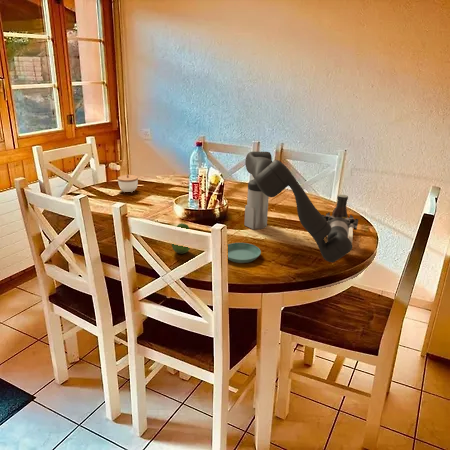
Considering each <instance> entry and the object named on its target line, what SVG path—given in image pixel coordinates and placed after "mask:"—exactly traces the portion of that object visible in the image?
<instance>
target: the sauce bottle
mask: <svg viewBox="0 0 450 450" xmlns="http://www.w3.org/2000/svg"><path fill="white" fill-rule="evenodd" d="M336 197H337V198H336V199H337V200H336V201H337V203H336V206H335V208H333V210H332V214H331V216H333V217H342V218H344V219H345V218H349V216H348V210H347V202H348V200H349V196H348V195H346V194H338V195H337V196H336Z"/></svg>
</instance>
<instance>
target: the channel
mask: <svg viewBox="0 0 450 450" xmlns="http://www.w3.org/2000/svg"><path fill="white" fill-rule="evenodd" d="M353 231H354V228H353V227H350V228H349V233H348V238H349V240H350V241H351V243H352V244H353V240H354V239H353V235H354V233H353Z"/></svg>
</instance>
